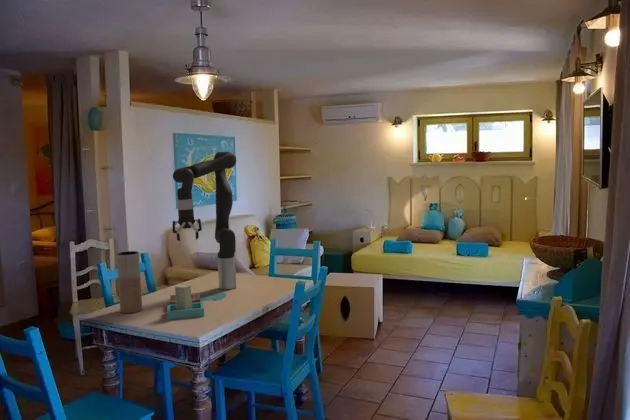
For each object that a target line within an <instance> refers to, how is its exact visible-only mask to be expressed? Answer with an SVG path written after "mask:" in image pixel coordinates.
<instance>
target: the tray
mask: <svg viewBox="0 0 630 420" xmlns="http://www.w3.org/2000/svg"><path fill="white" fill-rule="evenodd" d="M166 309H167V310H166V312H167V313H166V317H167V318H166V319H167V320H179V319H188V318H196V317H198V318H199V317H205V307H204V302H203V301H200V302H197V303H192V309H186V310H177V308H176V304H175V305H170V304H167V308H166Z"/></svg>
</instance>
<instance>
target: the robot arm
mask: <svg viewBox="0 0 630 420" xmlns="http://www.w3.org/2000/svg"><path fill="white" fill-rule="evenodd" d="M236 164H237V156H236V155H235V153H234V152H232V151H217V152H216V153H215V155H214V157H213V159H209V160H204V161H200V162H197V163H194V164H192V165H190V166H189V165H188V166H184V167H180V168H179V167H178V168H177V169H176V170H174V172H172V173H173V174H172V178H173V181H175V182H176V183H177V184H178V183H179V184H180V183H181V187H179V188H178V189H177V191H176V194H177V195H176V196H177V212H178V213H177V214H178V220H172V233H173V234H175V235H176V240H177V241H178V242H181V237H180V236H181V235H180V232H181V231H182V230H185V229H192V230H194V231H195V240H198V239H199V232H202V230H203V228H202V221H201V219H200V218H197V219H195V214H194V213H195V211H194V203H193V191H192V190H193V187H194V186H193V185H194V179H199V178H201V177H203V176H206V175H208V174H211V173H214V176H215V230H214V239H215V241H216V243H218V244H219V251H218V252H217V272H218V274H217V275H218V288H219V290H233V289H237V275H236V274H237V273H236V272H237V271H236V264H235V263H236V262H235V261H236V260H235V258H236V257H235V253H236V250H237V249H236V248H237V247H236V244H237V243H236V234H235V231H234V230H232V229H230V222H229V220H230V215H231V212H232V208H233V203H234V202H233V197H234V196H233V194H234V193H233V190H232V187H231V186H230V184H229V183H228V182H229V181H228V180H227V174H226V173H227V171H226V170H227V169H228V170H229V169H232V168H233V167H235V166H236ZM195 223H196V224H198V228H197V227H196V226H195V225H194V224H195ZM177 224H178V225H179V227H178V229H177V230H176V226H177Z"/></svg>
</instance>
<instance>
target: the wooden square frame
mask: <svg viewBox="0 0 630 420" xmlns="http://www.w3.org/2000/svg"><path fill="white" fill-rule="evenodd" d="M191 297H192V303H197V302H201V296H200V292H193V293H192V292H191ZM175 304H176V295H175V294H171V295H170V297H169V305H175Z"/></svg>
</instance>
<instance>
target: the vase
mask: <svg viewBox="0 0 630 420" xmlns="http://www.w3.org/2000/svg"><path fill="white" fill-rule="evenodd" d="M140 261H141V260H140V252H139V251H137V250H134V251H133V250H132V251H122V252H121V251H120V252H118V253H116V264H117V278H118V279H117V280H118V294H119V311H121V312H122V313H121V312H120V313H121V314H135V313H138V311H139V312H140V311H142V310H143V298H142V297H143V296H142V280H141V267H140V266H141V265H140V264H141V262H140Z"/></svg>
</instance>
